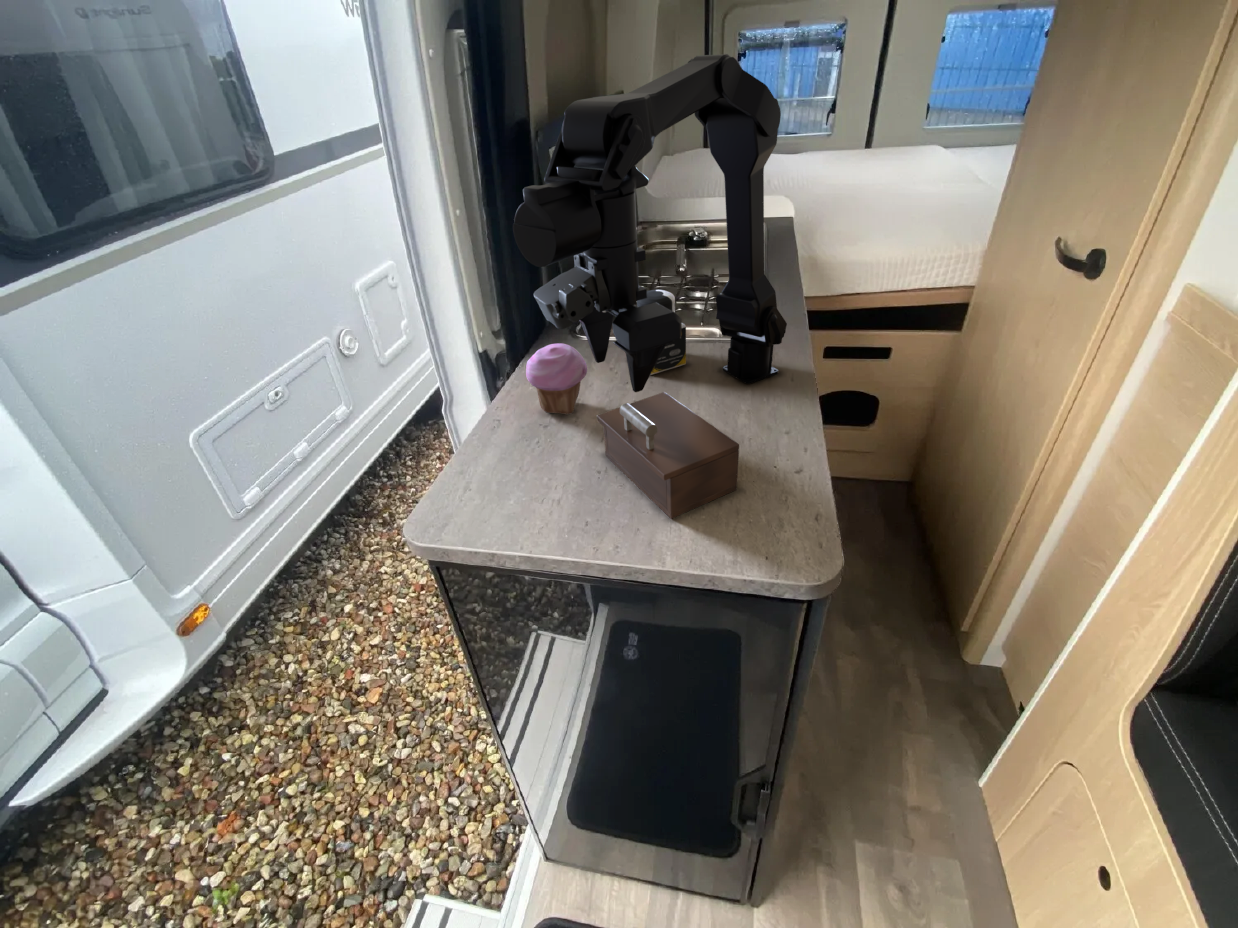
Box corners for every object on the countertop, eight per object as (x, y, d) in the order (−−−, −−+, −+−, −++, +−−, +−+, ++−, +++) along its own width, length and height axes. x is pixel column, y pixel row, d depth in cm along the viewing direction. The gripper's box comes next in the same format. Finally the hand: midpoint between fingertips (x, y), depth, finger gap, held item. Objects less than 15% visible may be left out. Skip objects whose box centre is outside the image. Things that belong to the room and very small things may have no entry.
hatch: (664, 481, 66) (663, 449, 64) (596, 420, 78) (593, 391, 75) (739, 450, 70) (741, 419, 68) (664, 396, 82) (663, 368, 79)
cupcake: (524, 420, 90) (513, 359, 84) (543, 392, 97) (534, 333, 91) (582, 424, 88) (575, 362, 83) (597, 395, 95) (591, 335, 89)
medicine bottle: (649, 376, 99) (647, 305, 92) (629, 360, 105) (625, 292, 98) (686, 365, 102) (686, 295, 95) (664, 350, 107) (663, 283, 100)
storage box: (671, 519, 70) (670, 478, 67) (605, 456, 81) (602, 418, 78) (736, 489, 74) (739, 450, 70) (665, 433, 85) (664, 397, 82)
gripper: (505, 236, 67) (525, 365, 76) (578, 280, 53) (593, 431, 62) (595, 218, 71) (604, 343, 80) (685, 255, 57) (684, 400, 66)
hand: (618, 375), depth 72 cm, fingers open, 9 cm apart
